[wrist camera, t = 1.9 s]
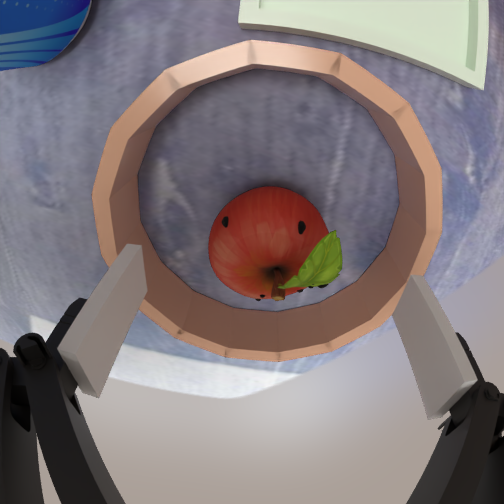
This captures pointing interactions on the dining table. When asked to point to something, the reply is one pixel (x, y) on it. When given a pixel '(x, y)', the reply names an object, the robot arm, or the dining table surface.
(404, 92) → the dining table surface
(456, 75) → the tray
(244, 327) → the ring band
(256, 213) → the apple
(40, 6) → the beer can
